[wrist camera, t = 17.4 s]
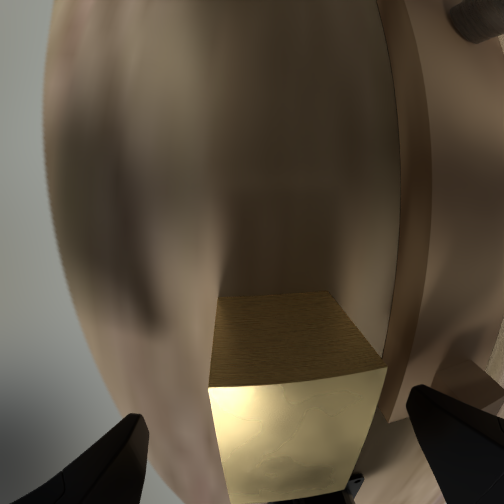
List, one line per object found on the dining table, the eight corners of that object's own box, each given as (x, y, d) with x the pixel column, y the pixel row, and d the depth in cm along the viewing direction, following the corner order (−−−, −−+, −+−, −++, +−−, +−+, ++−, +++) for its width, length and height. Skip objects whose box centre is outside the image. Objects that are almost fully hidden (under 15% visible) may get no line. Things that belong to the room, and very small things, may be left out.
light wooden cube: (314, 406, 12) (344, 489, 7) (229, 413, 12) (230, 503, 7) (326, 290, 11) (387, 367, 6) (217, 296, 10) (208, 387, 5)
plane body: (458, 370, 12) (506, 419, 7) (372, 397, 12) (414, 469, 7) (468, 28, 8) (529, 2, 3) (373, -10, 7) (427, -68, 3)
